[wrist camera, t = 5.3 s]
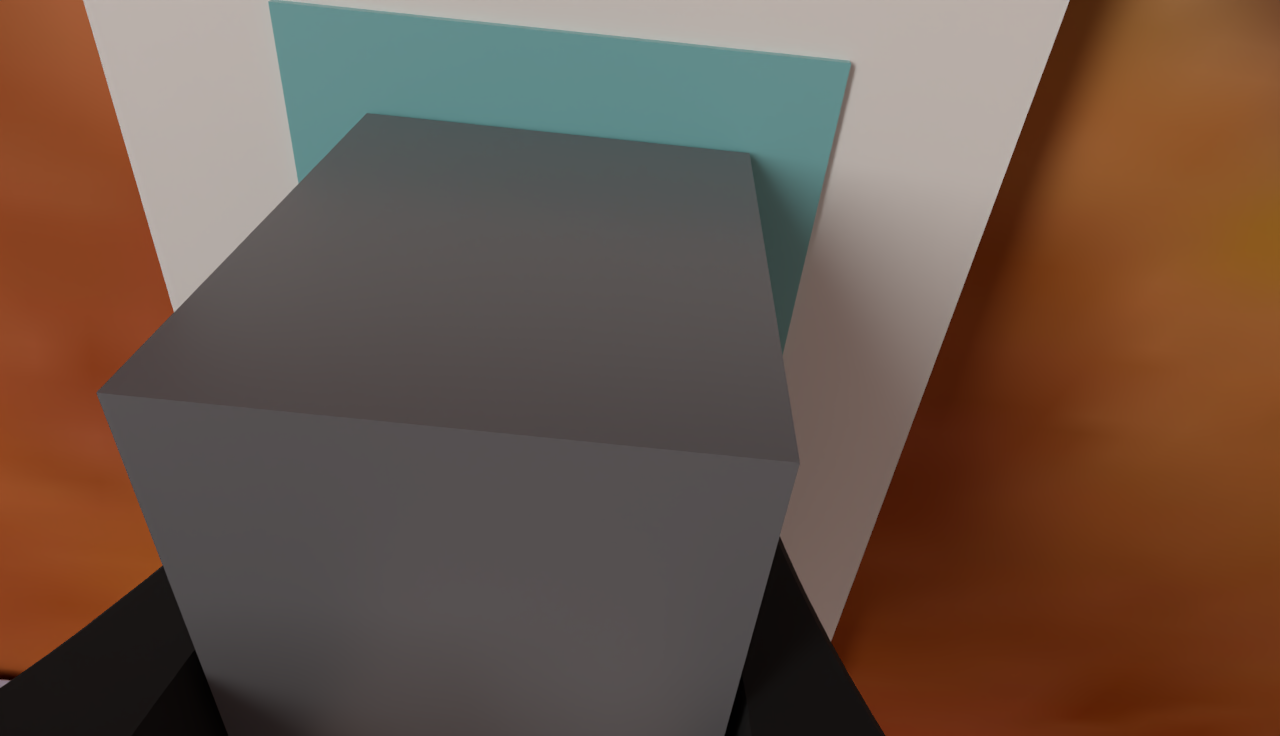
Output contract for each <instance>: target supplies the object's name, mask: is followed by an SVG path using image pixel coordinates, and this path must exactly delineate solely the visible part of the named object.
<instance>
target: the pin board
mask: <svg viewBox="0 0 1280 736" xmlns="http://www.w3.org/2000/svg"><path fill="white" fill-rule="evenodd" d="M83 1H84V4H85V8H86V11H87V15H88V18H89V22H90V25H91V28H92V32H93V35H94V39H95V42H96V46H97V49H98V52H99V56H100V59H101V63H102V66H103V70H104V73H105V77H106V80H107V83H108V87H109V90H110V94H111V97H112V101H113V104H114V107H115V111H116V114H117V118H118V121H119V125H120V128H121V132H122V135H123V138H124V142H125V145H126V149H127V152H128V156H129V159H130V162H131V166H132V169H133V173H134V176H135V180H136V183H137V186H138V190H139V193H140V197H141V200H142V204H143V207H144V211H145V214H146V217H147V221H148V224H149V228H150V231H151V235H152V238H153V241H154V245H155V248H156V252H157V255H158V259H159V262H160V266H161V269H162V272H163V276H164V279H165V283H166V286H167V290H168V293H169V296H170V300H171V303H172V307H173V310H174V312H175V311H176V310H177V309H178V308H179V307H180V306H181V305H182V304H183V303H184V302H185V301H186V300H187V299H188V298H189V296H190V295H191V294H192V293H193V292H194V291H195V290H196V289H197V288H198V287H199V286H200V285H201V284H202V283H203V282H204V281H205V280H206V279H207V278H208V277H209V276H210V275H211V274H212V273H213V272H214V271H215V270H216V269H217V268H218V266H219V265H220V264H221V263H222V262H223V261H224V260H225V259H226V258H227V257H228V256H229V255H230V254H231V253H232V252H233V251H234V250H235V249H236V248H237V247H238V246H239V245H240V244H241V243H242V242H243V241H244V240H245V239H246V238H247V236H248V235H249V234H250V233H251V232H252V231H253V230H254V229H255V228H256V227H257V226H258V225H259V224H260V223H261V222H262V221H263V220H264V219H265V218H266V217H267V216H268V215H269V214H270V213H271V212H272V211H273V210H274V209H275V208H276V206H277V205H278V204H279V203H280V202H281V201H282V200H283V199H284V198H285V197H286V196H287V195H288V194H289V193H290V192H291V191H292V190H293V189H294V188H295V187H296V186H297V185H298V184H299V183H300V182H301V181H302V180H303V179H304V178H305V176H306V175H307V174H308V173H309V172H310V171H311V170H312V169H313V168H314V167H315V166H316V165H317V164H318V163H319V162H320V161H321V160H322V159H323V158H324V157H325V156H326V155H327V154H328V153H329V152H330V151H331V150H332V149H333V148H334V146H335V145H336V144H337V143H338V142H339V141H340V140H341V139H342V138H343V137H344V136H345V135H346V134H347V133H348V132H349V131H350V130H351V129H352V128H353V127H354V126H355V125H356V124H357V123H358V122H359V121H360V120H361V119H362V118H363V116H364V115H365V114H366V113H370V114H380V115H389V116H399V117H409V118H418V119H428V120H437V121H447V122H456V123H466V124H475V125H485V126H495V127H504V128H514V129H523V130H533V131H542V132H552V133H562V134H571V135H581V136H590V137H600V138H609V139H619V140H628V141H638V142H648V143H657V144H667V145H676V146H686V147H695V148H705V149H715V150H724V151H734V152H743V153H750V159H751V165H752V172H753V178H754V184H755V190H756V196H757V202H758V208H759V214H760V221H761V227H762V233H763V239H764V245H765V251H766V257H767V264H768V270H769V276H770V282H771V288H772V294H773V300H774V306H775V313H776V319H777V325H778V331H779V337H780V343H781V349H782V356H783V362H784V368H785V374H786V380H787V386H788V392H789V398H790V405H791V411H792V417H793V423H794V429H795V435H796V441H797V448H798V454H799V460H800V465H799V468H798V472H797V476H796V479H795V483H794V486H793V490H792V494H791V497H790V501H789V504H788V508H787V512H786V515H785V519H784V522H783V526H782V530H781V533H780V537H781V540H782V542H783V544H784V547H785V549H786V551H787V553H788V556H789V558H790V560H791V562H792V565H793V567H794V569H795V571H796V573H797V576H798V578H799V580H800V582H801V584H802V586H803V588H804V590H805V592H806V594H807V596H808V598H809V600H810V602H811V604H812V606H813V608H814V610H815V612H816V614H817V616H818V618H819V620H820V622H821V624H822V626H823V627H824V629H825V631H826V633H827V635H828V637H829V639H830V641H831V640H832V638H833V635H834V632H835V630H836V627H837V624H838V622H839V619H840V616H841V614H842V611H843V608H844V605H845V603H846V600H847V597H848V595H849V592H850V589H851V587H852V584H853V581H854V579H855V576H856V573H857V571H858V568H859V565H860V562H861V560H862V557H863V554H864V552H865V549H866V546H867V544H868V541H869V538H870V536H871V533H872V530H873V528H874V525H875V522H876V519H877V517H878V514H879V511H880V509H881V506H882V503H883V501H884V498H885V495H886V493H887V490H888V487H889V485H890V482H891V479H892V476H893V474H894V471H895V468H896V466H897V463H898V460H899V458H900V455H901V452H902V450H903V447H904V444H905V442H906V439H907V436H908V433H909V431H910V428H911V425H912V423H913V420H914V417H915V415H916V412H917V409H918V407H919V404H920V401H921V399H922V396H923V393H924V390H925V388H926V385H927V382H928V380H929V377H930V374H931V372H932V369H933V366H934V364H935V361H936V358H937V356H938V353H939V350H940V347H941V345H942V342H943V339H944V337H945V334H946V331H947V329H948V326H949V323H950V321H951V318H952V315H953V313H954V310H955V307H956V304H957V302H958V299H959V296H960V294H961V291H962V288H963V286H964V283H965V280H966V278H967V275H968V272H969V270H970V267H971V264H972V261H973V259H974V256H975V253H976V251H977V248H978V245H979V243H980V240H981V237H982V235H983V232H984V229H985V227H986V224H987V221H988V218H989V216H990V213H991V210H992V208H993V205H994V202H995V200H996V197H997V194H998V192H999V189H1000V186H1001V184H1002V181H1003V178H1004V175H1005V173H1006V170H1007V167H1008V165H1009V162H1010V159H1011V157H1012V154H1013V151H1014V149H1015V146H1016V143H1017V141H1018V138H1019V135H1020V132H1021V130H1022V127H1023V124H1024V122H1025V119H1026V116H1027V114H1028V111H1029V108H1030V106H1031V103H1032V100H1033V98H1034V95H1035V92H1036V89H1037V87H1038V84H1039V81H1040V79H1041V76H1042V73H1043V71H1044V68H1045V65H1046V63H1047V60H1048V57H1049V55H1050V52H1051V49H1052V46H1053V44H1054V41H1055V38H1056V36H1057V33H1058V30H1059V28H1060V25H1061V22H1062V20H1063V17H1064V14H1065V12H1066V9H1067V6H1068V3H1069V1H1070V0H83Z"/></svg>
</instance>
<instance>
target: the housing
mask: <svg viewBox="0 0 1280 736" xmlns="http://www.w3.org/2000/svg"><path fill="white" fill-rule="evenodd" d="M97 395H98V398H99V401H100V403H101V406H102V408H103V411H104V414H105V416H106V419H107V421H108V424H109V427H110V429H111V432H112V434H113V437H114V440H115V442H116V445H117V447H118V450H119V453H120V455H121V458H122V460H123V463H124V466H125V468H126V471H127V473H128V476H129V479H130V481H131V484H132V486H133V489H134V492H135V494H136V497H137V499H138V502H139V505H140V507H141V510H142V512H143V515H144V518H145V520H146V523H147V525H148V528H149V531H150V533H151V536H152V538H153V541H154V544H155V546H156V549H157V551H158V554H159V557H160V559H161V562H162V564H163V567H164V570H165V572H166V575H167V577H168V580H169V583H170V585H171V588H172V590H173V593H174V596H175V598H176V601H177V603H178V606H179V609H180V611H181V614H182V616H183V619H184V622H185V624H186V627H187V629H188V632H189V635H190V637H191V640H192V642H193V645H194V648H195V650H196V653H197V655H198V658H199V661H200V663H201V666H202V668H203V671H204V674H205V676H206V679H207V681H208V684H209V687H210V689H211V692H212V694H213V697H214V700H215V702H216V705H217V707H218V710H219V713H220V715H221V718H222V720H223V723H224V726H225V728H226V731H227V733H228V736H724V735H725V732H726V728H727V724H728V721H729V717H730V714H731V710H732V706H733V703H734V699H735V695H736V692H737V688H738V685H739V681H740V677H741V674H742V670H743V667H744V663H745V659H746V656H747V652H748V649H749V645H750V641H751V638H752V634H753V631H754V627H755V623H756V620H757V616H758V613H759V609H760V605H761V602H762V598H763V595H764V591H765V587H766V584H767V580H768V576H769V573H770V569H771V566H772V562H773V558H774V555H775V551H776V548H777V544H778V540H779V537H780V533H781V530H782V526H783V522H784V519H785V515H786V512H787V508H788V504H789V501H790V497H791V494H792V490H793V486H794V483H795V479H796V476H797V472H798V468H799V465H800V460H799V454H798V448H797V441H796V435H795V429H794V423H793V417H792V411H791V405H790V398H789V392H788V386H787V380H786V374H785V368H784V362H783V356H782V349H781V343H780V337H779V331H778V325H777V319H776V313H775V306H774V300H773V294H772V288H771V282H770V276H769V270H768V264H767V257H766V251H765V245H764V239H763V233H762V227H761V221H760V214H759V208H758V202H757V196H756V190H755V184H754V178H753V172H752V165H751V159H750V153H743V152H734V151H724V150H715V149H705V148H695V147H686V146H676V145H667V144H657V143H648V142H638V141H628V140H619V139H609V138H600V137H590V136H581V135H571V134H562V133H552V132H542V131H533V130H523V129H514V128H504V127H495V126H485V125H475V124H466V123H456V122H447V121H437V120H428V119H418V118H409V117H399V116H389V115H380V114H370V113H366V114H365V115H364V116H363V118H362V119H361V120H360V121H359V122H358V123H357V124H356V125H355V126H354V127H353V128H352V129H351V130H350V131H349V132H348V133H347V134H346V135H345V136H344V137H343V138H342V139H341V140H340V141H339V142H338V143H337V144H336V145H335V146H334V148H333V149H332V150H331V151H330V152H329V153H328V154H327V155H326V156H325V157H324V158H323V159H322V160H321V161H320V162H319V163H318V164H317V165H316V166H315V167H314V168H313V169H312V170H311V171H310V172H309V173H308V174H307V175H306V176H305V178H304V179H303V180H302V181H301V182H300V183H299V184H298V185H297V186H296V187H295V188H294V189H293V190H292V191H291V192H290V193H289V194H288V195H287V196H286V197H285V198H284V199H283V200H282V201H281V202H280V203H279V204H278V205H277V206H276V208H275V209H274V210H273V211H272V212H271V213H270V214H269V215H268V216H267V217H266V218H265V219H264V220H263V221H262V222H261V223H260V224H259V225H258V226H257V227H256V228H255V229H254V230H253V231H252V232H251V233H250V234H249V235H248V236H247V238H246V239H245V240H244V241H243V242H242V243H241V244H240V245H239V246H238V247H237V248H236V249H235V250H234V251H233V252H232V253H231V254H230V255H229V256H228V257H227V258H226V259H225V260H224V261H223V262H222V263H221V264H220V265H219V266H218V268H217V269H216V270H215V271H214V272H213V273H212V274H211V275H210V276H209V277H208V278H207V279H206V280H205V281H204V282H203V283H202V284H201V285H200V286H199V287H198V288H197V289H196V290H195V291H194V292H193V293H192V294H191V295H190V296H189V298H188V299H187V300H186V301H185V302H184V303H183V304H182V305H181V306H180V307H179V308H178V309H177V310H176V311H175V312H174V313H173V314H172V315H171V316H170V317H169V318H168V319H167V320H166V321H165V322H164V323H163V324H162V325H161V326H160V328H159V329H158V330H157V331H156V332H155V333H154V334H153V335H152V336H151V337H150V338H149V339H148V340H147V341H146V342H145V343H144V344H143V345H142V346H141V347H140V348H139V349H138V350H137V351H136V352H135V353H134V354H133V355H132V356H131V358H130V359H129V360H128V361H127V362H126V363H125V364H124V365H123V366H122V367H121V368H120V369H119V370H118V371H117V372H116V373H115V374H114V375H113V376H112V377H111V378H110V379H109V380H108V381H107V382H106V383H105V384H104V385H103V387H102V388H101V389H100V390H99V391H98V392H97Z"/></svg>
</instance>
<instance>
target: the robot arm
mask: <svg viewBox="0 0 1280 736" xmlns="http://www.w3.org/2000/svg"><path fill="white" fill-rule="evenodd" d="M0 736H228V733H227V731H226V728H225V726H224V723H223V720H222V718H221V715H220V713H219V710H218V707H217V705H216V702H215V700H214V697H213V694H212V692H211V689H210V687H209V684H208V681H207V679H206V676H205V674H204V671H203V668H202V666H201V663H200V661H199V658H198V655H197V653H196V650H195V648H194V645H193V642H192V640H191V637H190V635H189V632H188V629H187V627H186V624H185V622H184V619H183V616H182V614H181V611H180V609H179V606H178V603H177V601H176V598H175V596H174V593H173V590H172V588H171V585H170V583H169V580H168V577H167V575H166V572H165V570H164V567H163V566H162V567H160V568H159V569H158V570H157V571H156V572H154V573H153V574H152V575H151V576H149V577H148V578H147V579H146V580H144V581H143V582H142V583H141V584H139V585H138V586H137V587H135V588H134V589H133V590H132V591H130V592H129V593H128V594H126V595H125V596H124V597H123V598H121V599H120V600H119V601H118V602H116V603H115V604H114V605H112V606H111V607H110V608H109V609H107V610H106V611H105V612H103V613H102V614H101V615H100V616H98V617H97V618H96V619H94V620H93V621H92V622H91V623H89V624H88V625H87V626H86V627H84V628H83V629H82V630H80V631H79V632H78V633H76V634H75V635H74V636H72V637H71V638H70V639H68V640H67V641H66V642H64V643H63V644H61V645H60V646H59V647H57V648H56V649H55V650H53V651H52V652H50V653H49V654H48V655H46V656H45V657H44V658H42V659H41V660H39V661H38V662H37V663H35V664H34V665H32V666H31V667H30V668H28V669H27V670H25V671H24V672H23V673H21V674H20V675H18V676H17V677H15V678H14V679H12V680H5V679H0ZM724 736H885V734H884V733H883V731H882V729H881V728H880V726H879V724H878V723H877V721H876V720H875V718H874V716H873V715H872V713H871V711H870V710H869V708H868V706H867V705H866V703H865V701H864V699H863V698H862V696H861V694H860V693H859V691H858V689H857V688H856V686H855V684H854V682H853V681H852V679H851V677H850V676H849V674H848V672H847V670H846V668H845V667H844V665H843V663H842V661H841V659H840V658H839V656H838V654H837V652H836V650H835V649H834V647H833V645H832V643H831V641H830V639H829V637H828V635H827V633H826V631H825V629H824V627H823V626H822V624H821V622H820V620H819V618H818V616H817V614H816V612H815V610H814V608H813V606H812V604H811V602H810V600H809V598H808V596H807V594H806V592H805V590H804V588H803V586H802V584H801V582H800V580H799V578H798V576H797V573H796V571H795V569H794V567H793V565H792V562H791V560H790V558H789V556H788V553H787V551H786V549H785V547H784V544H783V542H782V540H781V537H779V540H778V544H777V548H776V551H775V555H774V558H773V562H772V566H771V569H770V573H769V576H768V580H767V584H766V587H765V591H764V595H763V598H762V602H761V605H760V609H759V613H758V616H757V620H756V623H755V627H754V631H753V634H752V638H751V641H750V645H749V649H748V652H747V656H746V659H745V663H744V667H743V670H742V674H741V677H740V681H739V685H738V688H737V692H736V695H735V699H734V703H733V706H732V710H731V714H730V717H729V721H728V724H727V728H726V732H725V735H724Z"/></svg>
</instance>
